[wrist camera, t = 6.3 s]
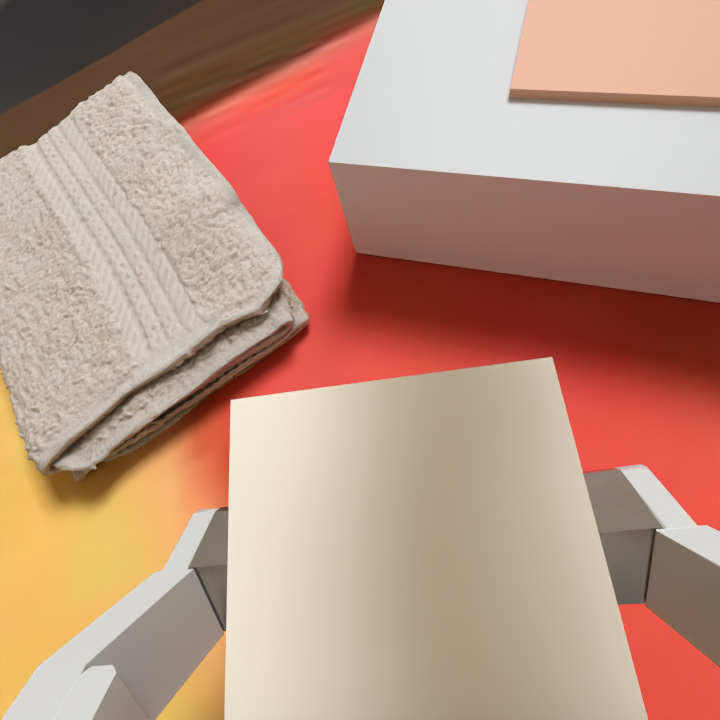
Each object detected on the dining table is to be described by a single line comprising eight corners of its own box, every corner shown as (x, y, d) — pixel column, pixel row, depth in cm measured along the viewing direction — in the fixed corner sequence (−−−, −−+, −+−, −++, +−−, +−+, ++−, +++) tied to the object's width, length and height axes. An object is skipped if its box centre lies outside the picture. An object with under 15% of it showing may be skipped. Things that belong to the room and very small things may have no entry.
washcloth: (92, 503, 17) (21, 501, 14) (-28, 224, 23) (-92, 183, 21) (335, 322, 18) (316, 284, 15) (155, 102, 24) (118, 47, 22)
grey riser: (355, 252, 18) (326, 154, 13) (426, 20, 22) (423, -120, 17) (888, 326, 14) (1133, 221, 9) (854, 23, 18) (1011, -163, 13)
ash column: (352, 629, 14) (219, 806, 5) (340, 463, 15) (228, 397, 7) (520, 618, 13) (675, 800, 5) (487, 447, 15) (555, 353, 6)
